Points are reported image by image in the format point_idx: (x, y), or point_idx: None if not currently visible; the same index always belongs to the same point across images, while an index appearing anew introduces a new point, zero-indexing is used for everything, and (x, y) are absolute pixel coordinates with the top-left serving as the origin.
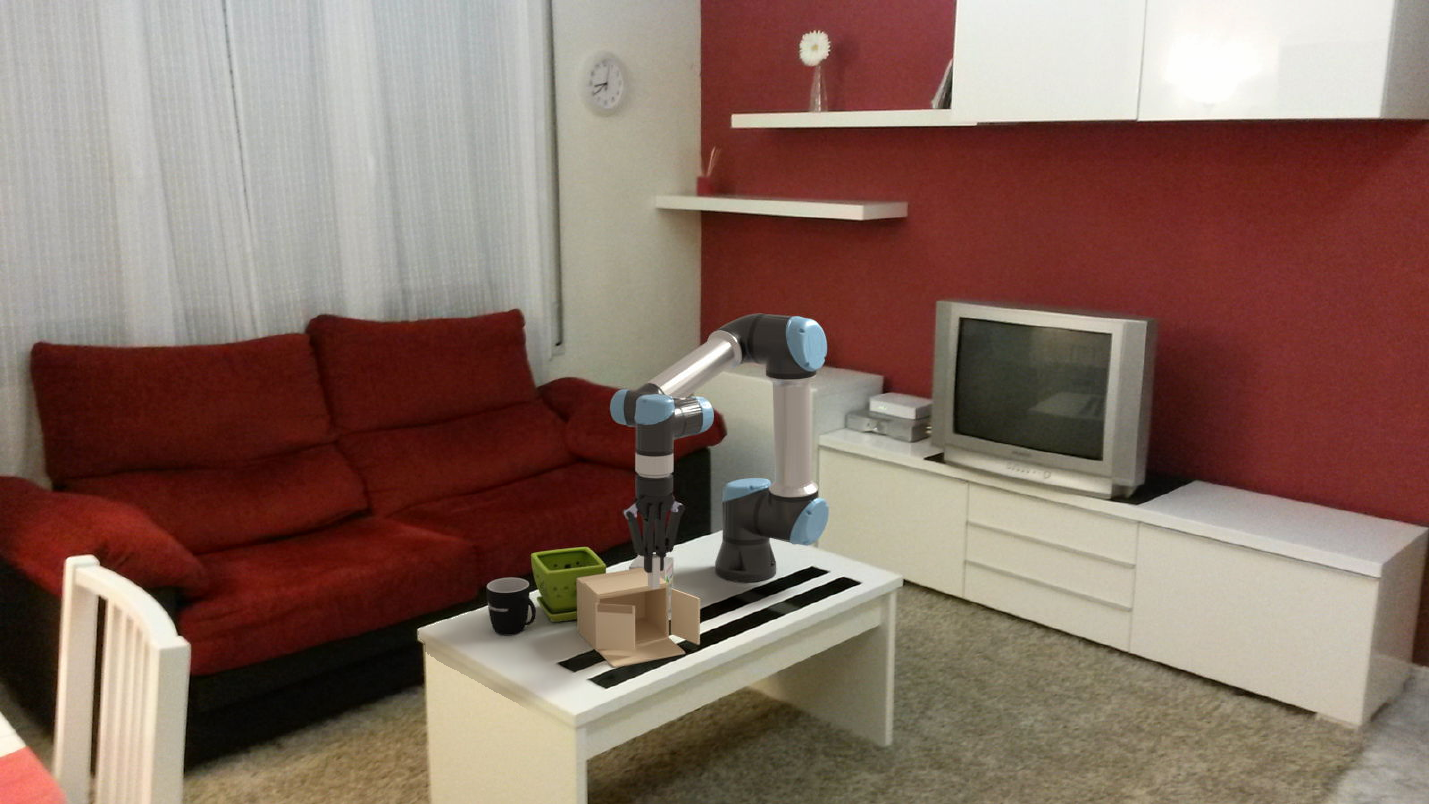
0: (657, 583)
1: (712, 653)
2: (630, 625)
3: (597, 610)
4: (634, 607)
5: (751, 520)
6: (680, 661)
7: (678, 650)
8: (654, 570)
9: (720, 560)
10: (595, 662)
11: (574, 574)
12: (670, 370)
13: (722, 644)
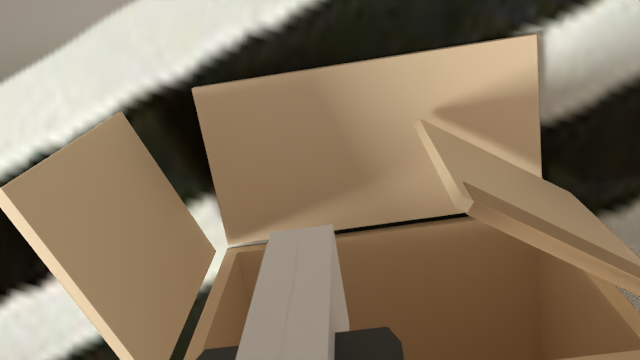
0: (288, 250)
1: (74, 57)
2: (459, 163)
3: None
4: (459, 194)
5: None
6: (230, 16)
7: (216, 112)
8: (312, 323)
9: None
10: (587, 115)
11: None
12: None
13: (16, 134)
